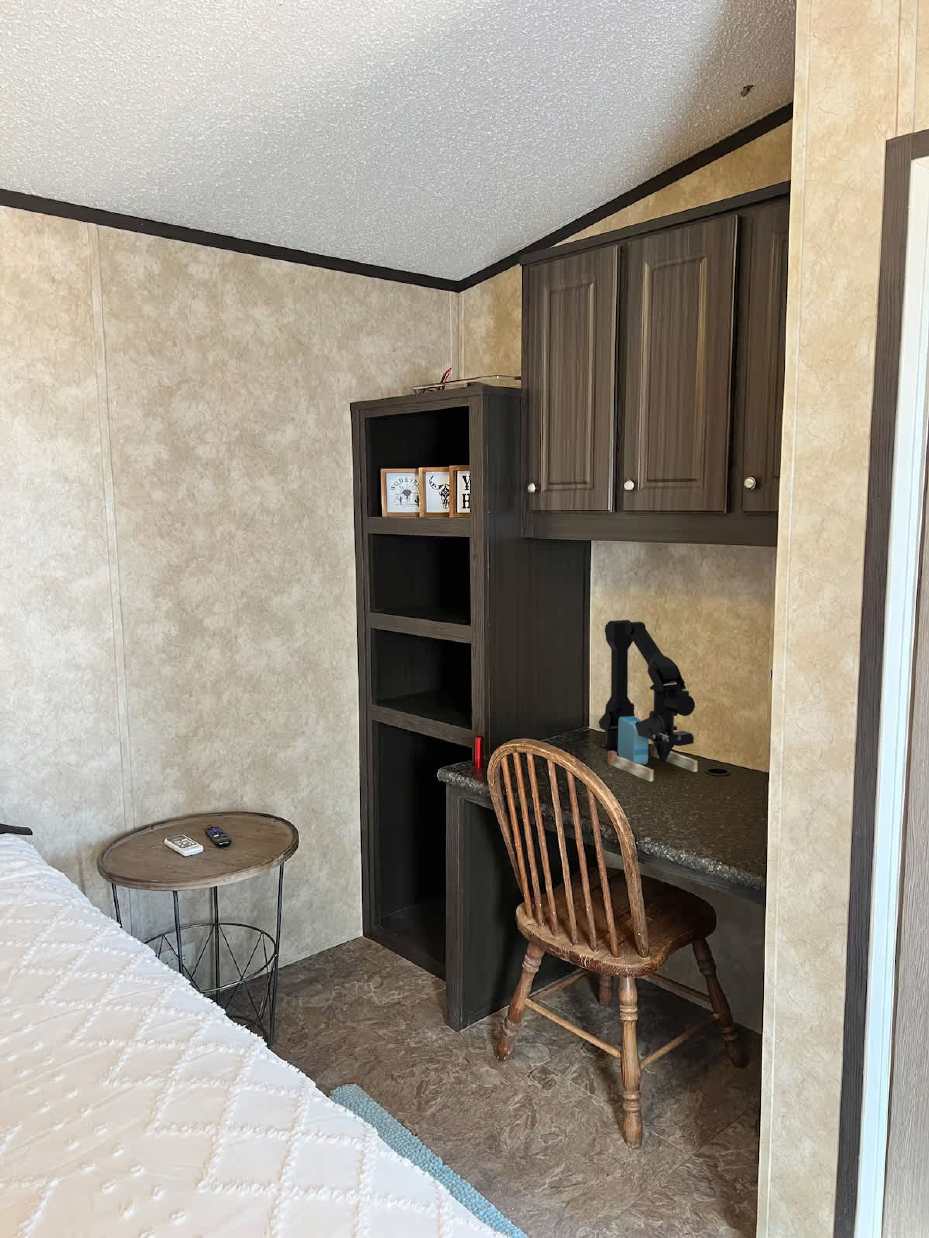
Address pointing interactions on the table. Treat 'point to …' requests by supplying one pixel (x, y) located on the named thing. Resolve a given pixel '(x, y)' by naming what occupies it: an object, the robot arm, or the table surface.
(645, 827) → the table surface
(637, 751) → the data package
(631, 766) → the bay
